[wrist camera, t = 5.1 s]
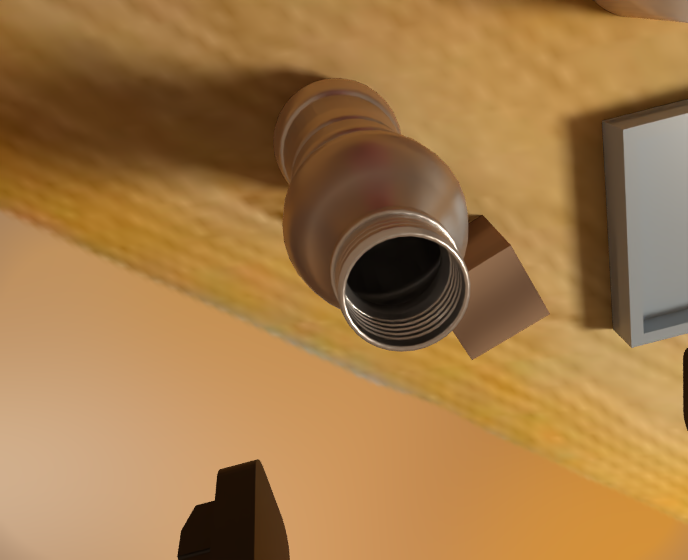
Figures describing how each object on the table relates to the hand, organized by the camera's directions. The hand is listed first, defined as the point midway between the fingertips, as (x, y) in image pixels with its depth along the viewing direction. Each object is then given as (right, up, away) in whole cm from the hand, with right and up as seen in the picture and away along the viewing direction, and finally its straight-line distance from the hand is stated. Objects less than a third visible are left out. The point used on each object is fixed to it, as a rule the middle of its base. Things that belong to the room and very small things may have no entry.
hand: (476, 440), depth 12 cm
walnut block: (+5, +4, +28) cm, 29 cm away
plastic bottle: (-3, +11, +24) cm, 26 cm away
